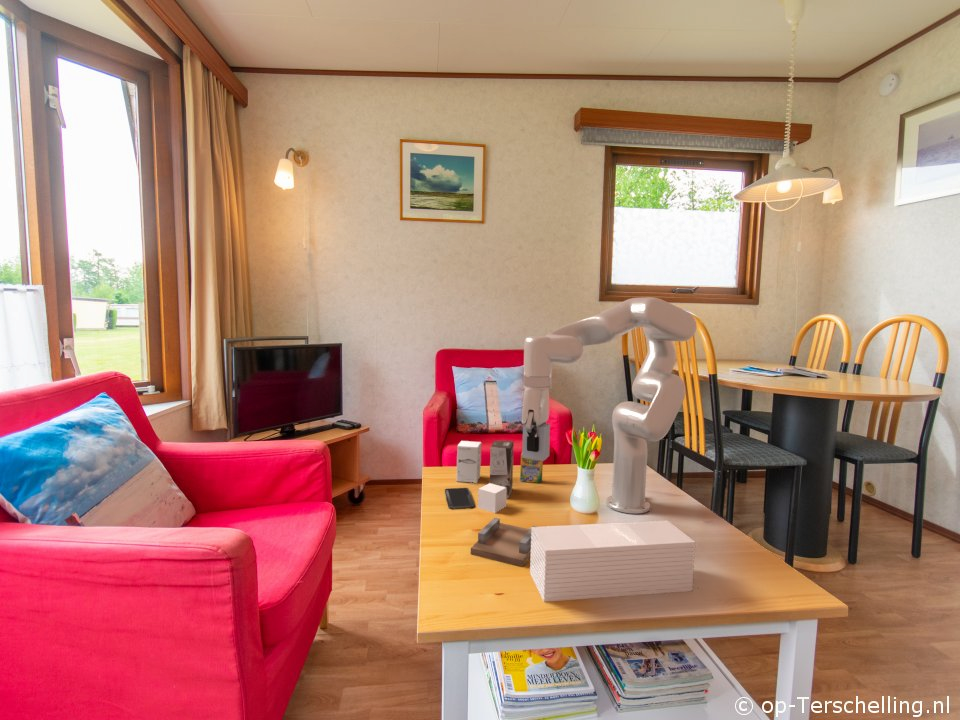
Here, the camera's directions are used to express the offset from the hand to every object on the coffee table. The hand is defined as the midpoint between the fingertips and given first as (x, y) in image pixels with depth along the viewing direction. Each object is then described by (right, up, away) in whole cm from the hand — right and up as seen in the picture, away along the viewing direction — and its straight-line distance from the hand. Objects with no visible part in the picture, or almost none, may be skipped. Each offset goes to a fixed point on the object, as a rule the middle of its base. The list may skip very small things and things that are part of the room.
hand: (536, 447), depth 130 cm
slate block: (0, -3, 0) cm, 3 cm away
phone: (-22, -19, +17) cm, 34 cm away
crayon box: (+2, -18, +34) cm, 39 cm away
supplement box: (-19, -18, +35) cm, 44 cm away
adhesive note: (-12, -20, +11) cm, 26 cm away
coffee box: (-8, -19, +23) cm, 31 cm away
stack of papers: (+12, -24, -28) cm, 39 cm away
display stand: (-8, -22, -12) cm, 26 cm away
